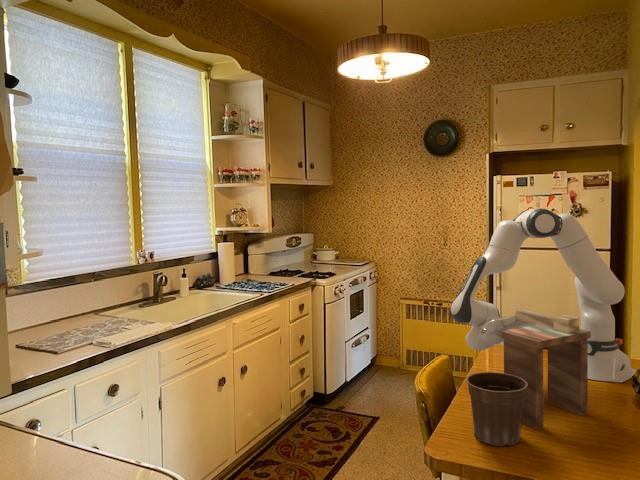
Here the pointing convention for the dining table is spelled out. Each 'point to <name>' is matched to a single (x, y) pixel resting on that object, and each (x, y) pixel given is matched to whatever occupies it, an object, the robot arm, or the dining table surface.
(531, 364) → the shelf
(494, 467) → the dining table surface
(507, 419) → the plant pot
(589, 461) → the dining table surface
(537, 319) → the marker stick
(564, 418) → the dining table surface
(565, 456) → the dining table surface
